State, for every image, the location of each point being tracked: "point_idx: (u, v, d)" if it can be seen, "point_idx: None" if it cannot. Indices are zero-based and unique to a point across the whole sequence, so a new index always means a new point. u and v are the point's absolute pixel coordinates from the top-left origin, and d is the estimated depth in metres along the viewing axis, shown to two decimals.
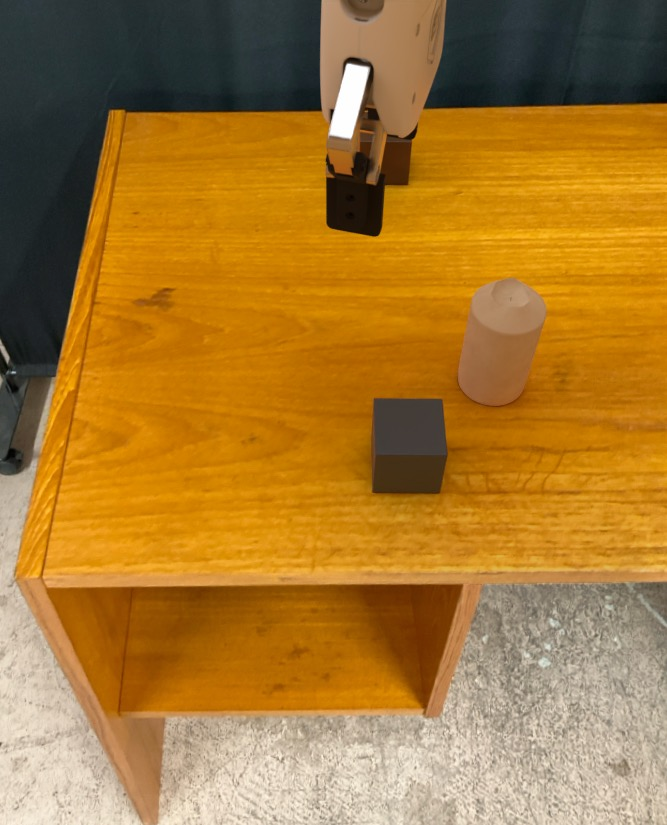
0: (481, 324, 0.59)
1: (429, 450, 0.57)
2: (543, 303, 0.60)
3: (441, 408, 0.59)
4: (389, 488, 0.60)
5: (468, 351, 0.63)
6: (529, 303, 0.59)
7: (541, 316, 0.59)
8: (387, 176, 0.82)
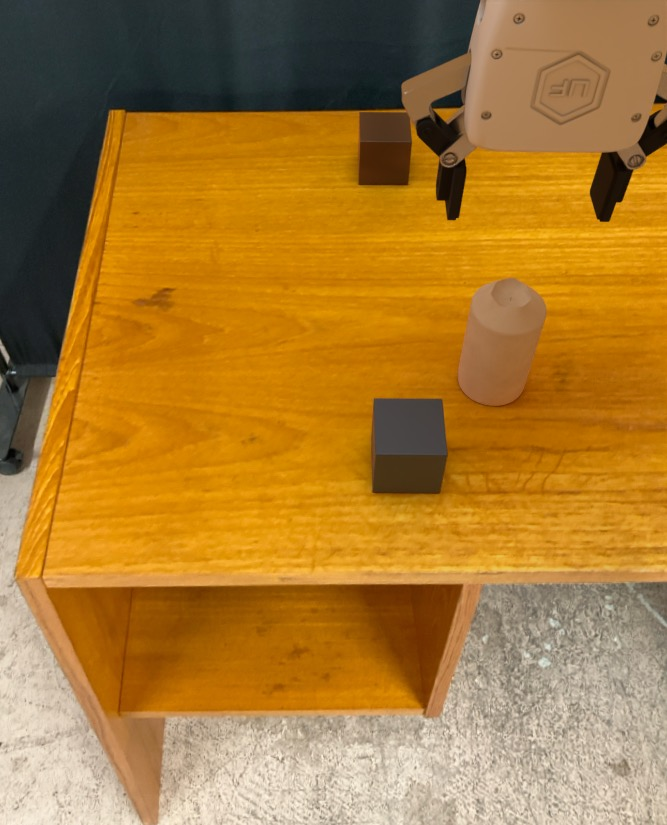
0: (481, 324, 0.59)
1: (429, 450, 0.57)
2: (543, 303, 0.60)
3: (441, 408, 0.59)
4: (389, 488, 0.60)
5: (468, 351, 0.63)
6: (529, 303, 0.59)
7: (541, 316, 0.59)
8: (387, 176, 0.82)
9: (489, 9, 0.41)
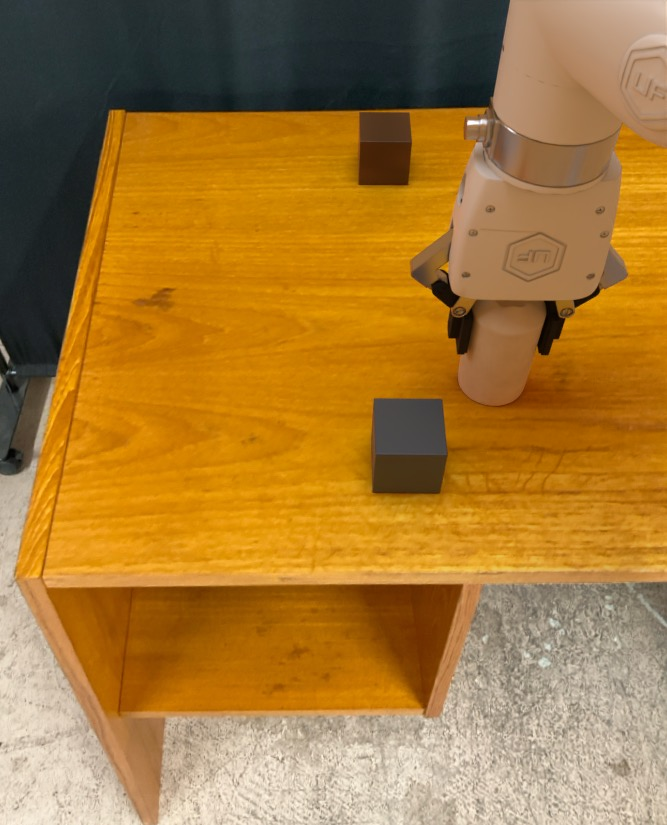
0: (481, 324, 0.59)
1: (429, 450, 0.57)
2: (543, 303, 0.60)
3: (441, 408, 0.59)
4: (389, 488, 0.60)
5: (468, 351, 0.63)
6: (529, 303, 0.59)
7: (541, 316, 0.59)
8: (387, 176, 0.82)
9: (466, 199, 0.51)
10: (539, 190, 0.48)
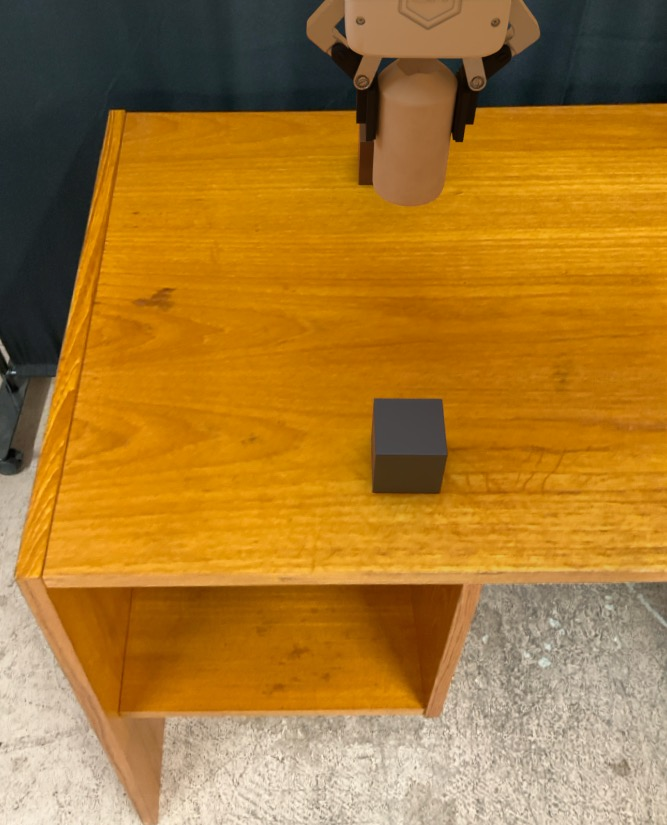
0: (386, 97, 0.55)
1: (429, 450, 0.57)
2: (454, 78, 0.56)
3: (441, 408, 0.59)
4: (389, 488, 0.60)
5: (378, 138, 0.58)
6: (437, 72, 0.55)
7: (450, 88, 0.55)
8: None
9: None
10: None
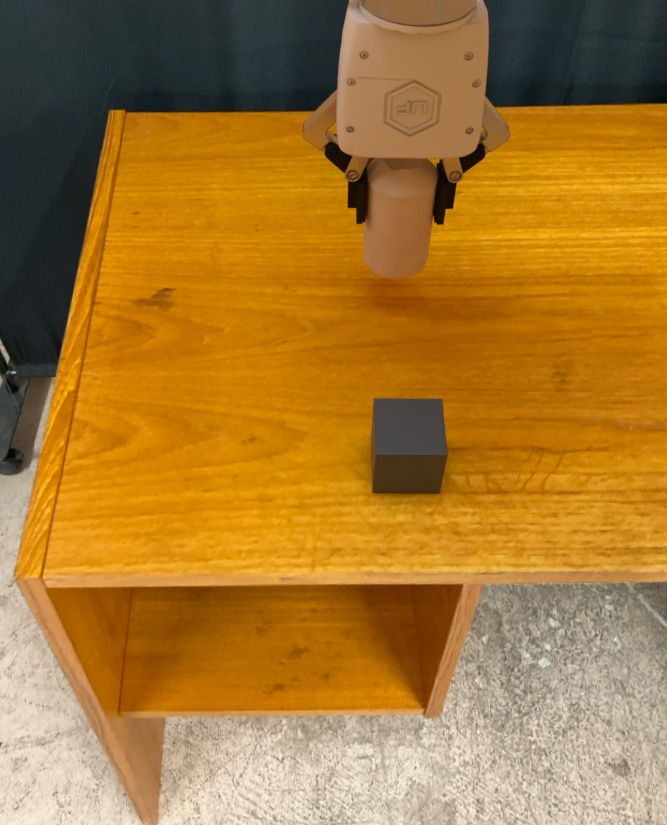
0: (374, 188, 0.62)
1: (429, 450, 0.57)
2: (435, 170, 0.63)
3: (441, 408, 0.59)
4: (389, 488, 0.60)
5: (367, 221, 0.65)
6: (419, 167, 0.61)
7: (431, 180, 0.62)
8: None
9: (343, 47, 0.53)
10: (404, 30, 0.50)
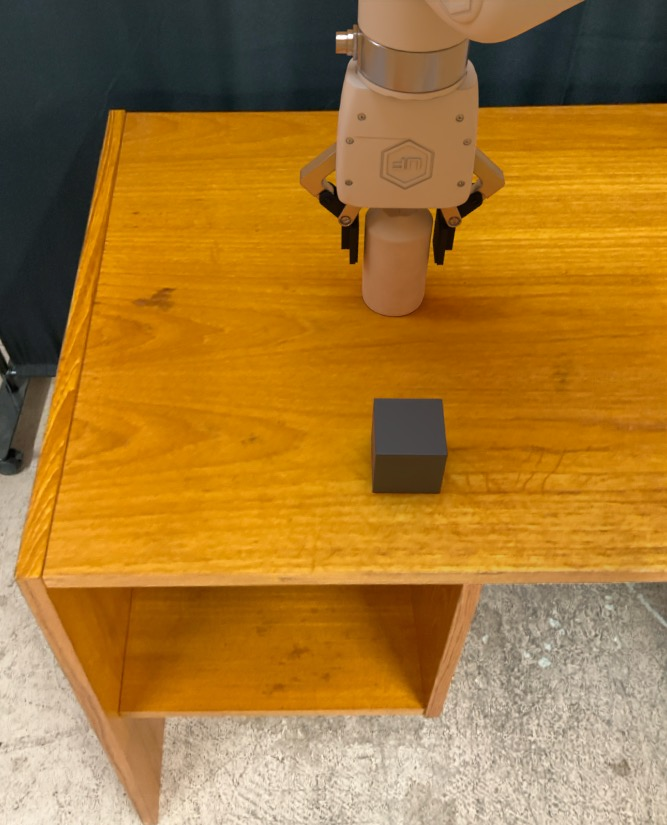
0: (372, 233, 0.65)
1: (429, 450, 0.57)
2: (430, 216, 0.66)
3: (441, 408, 0.59)
4: (389, 488, 0.60)
5: (366, 262, 0.69)
6: (415, 214, 0.65)
7: (426, 226, 0.65)
8: None
9: (342, 109, 0.57)
10: (399, 96, 0.54)
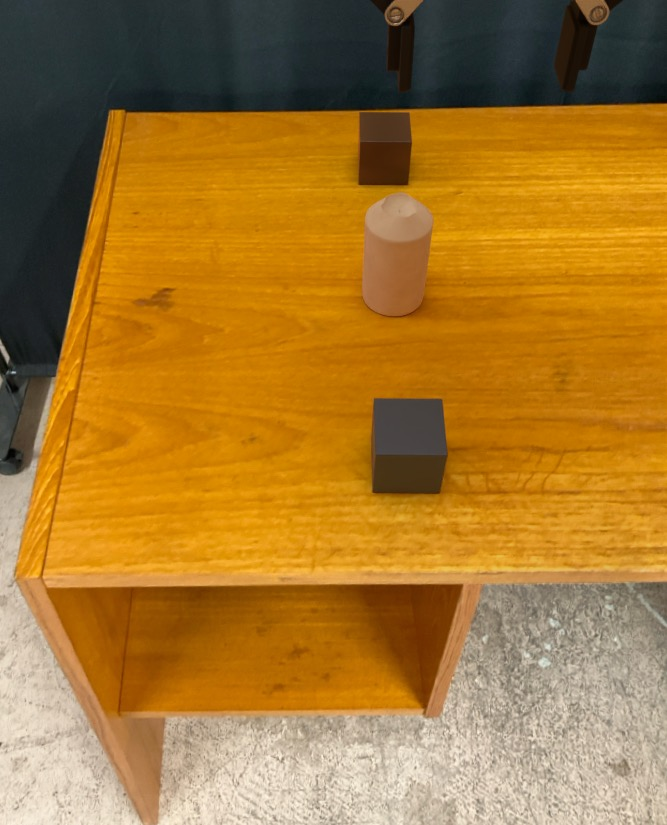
0: (372, 233, 0.65)
1: (429, 450, 0.57)
2: (430, 216, 0.66)
3: (441, 408, 0.59)
4: (389, 488, 0.60)
5: (366, 263, 0.69)
6: (415, 214, 0.65)
7: (426, 226, 0.65)
8: (387, 176, 0.82)
9: None
10: None
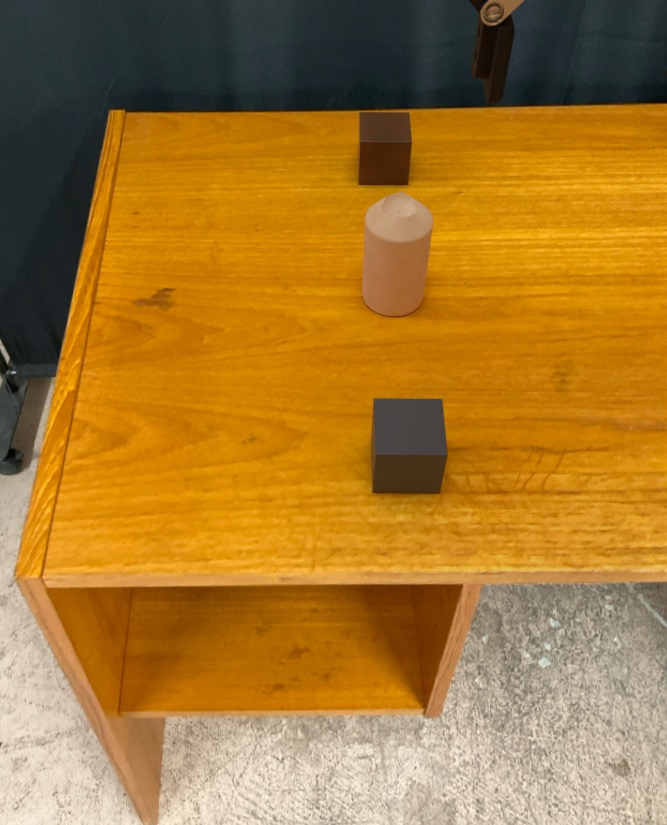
0: (372, 233, 0.65)
1: (429, 450, 0.57)
2: (430, 216, 0.66)
3: (441, 408, 0.59)
4: (389, 488, 0.60)
5: (366, 263, 0.69)
6: (415, 214, 0.65)
7: (426, 226, 0.65)
8: (387, 176, 0.82)
9: None
10: None
